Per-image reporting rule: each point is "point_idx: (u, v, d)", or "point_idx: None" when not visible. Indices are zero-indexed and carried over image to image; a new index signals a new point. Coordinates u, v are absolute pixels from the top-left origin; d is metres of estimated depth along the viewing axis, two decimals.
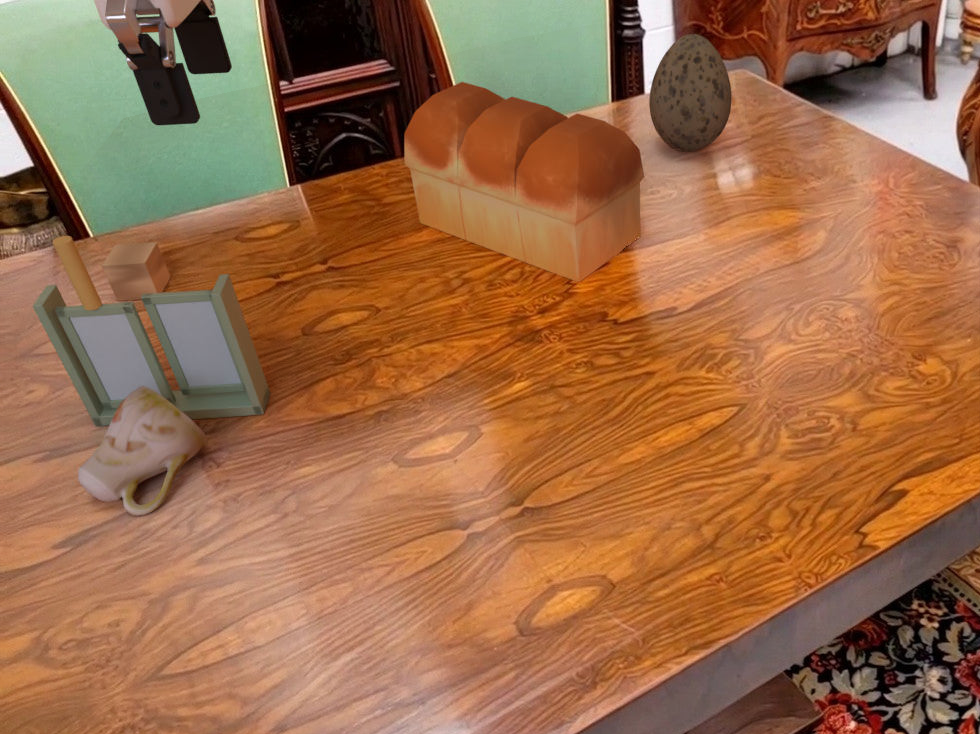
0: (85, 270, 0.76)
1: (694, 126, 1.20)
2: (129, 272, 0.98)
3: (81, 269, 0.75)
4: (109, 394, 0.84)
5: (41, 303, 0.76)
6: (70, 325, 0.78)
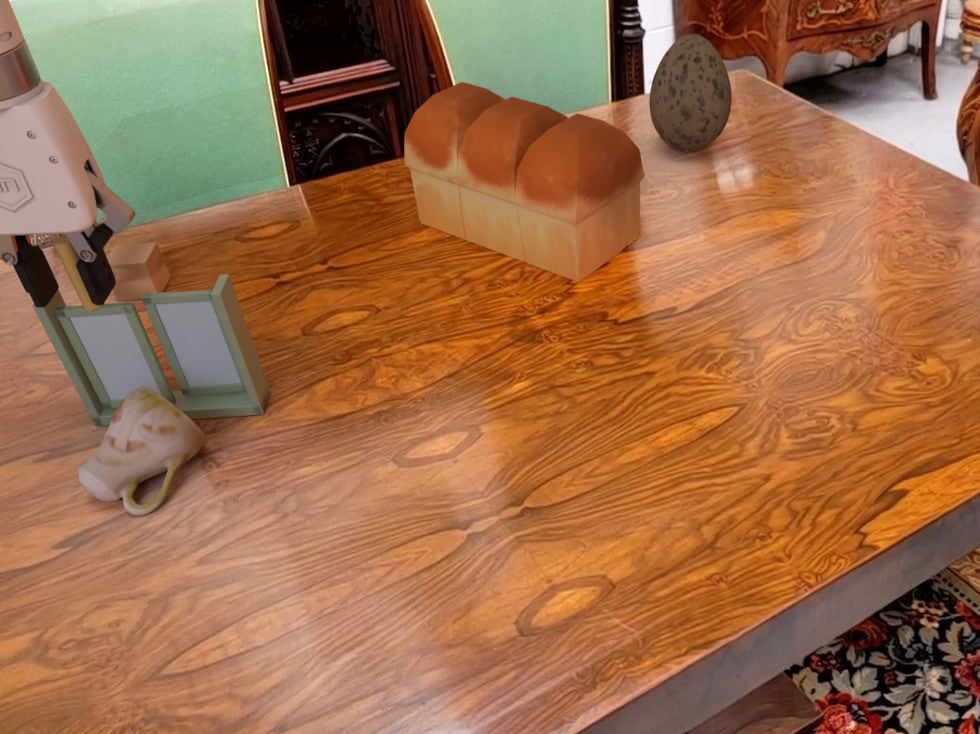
0: None
1: (694, 126, 1.20)
2: (129, 272, 0.98)
3: None
4: (109, 394, 0.84)
5: None
6: (70, 325, 0.78)
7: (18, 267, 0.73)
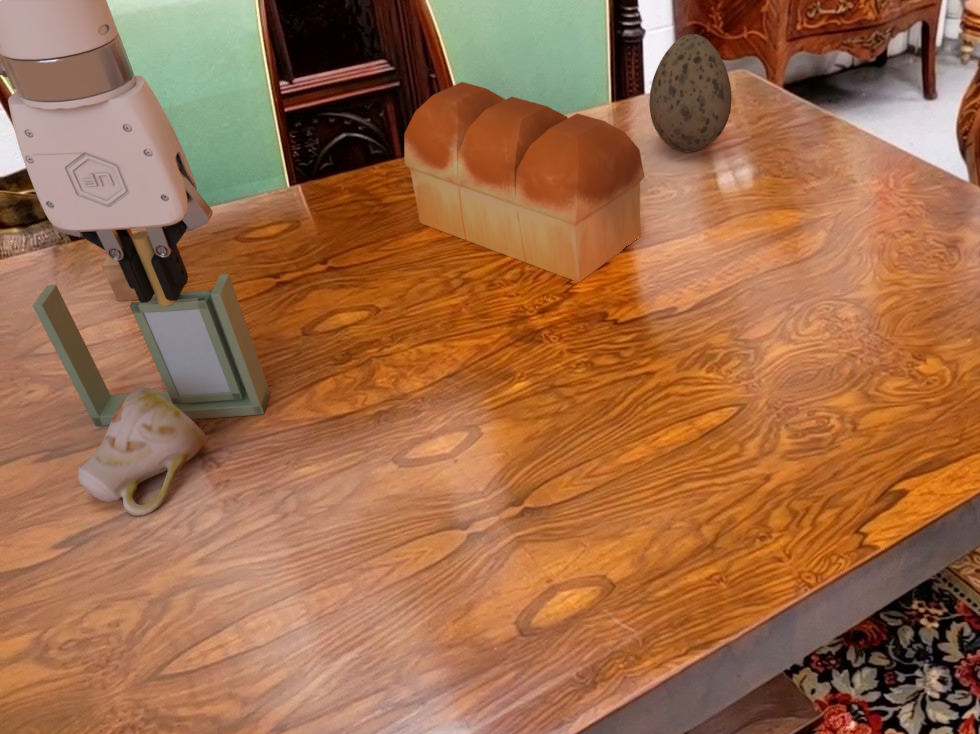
0: None
1: (694, 126, 1.20)
2: None
3: None
4: (178, 389, 0.84)
5: (41, 303, 0.76)
6: (144, 320, 0.79)
7: (124, 262, 0.74)
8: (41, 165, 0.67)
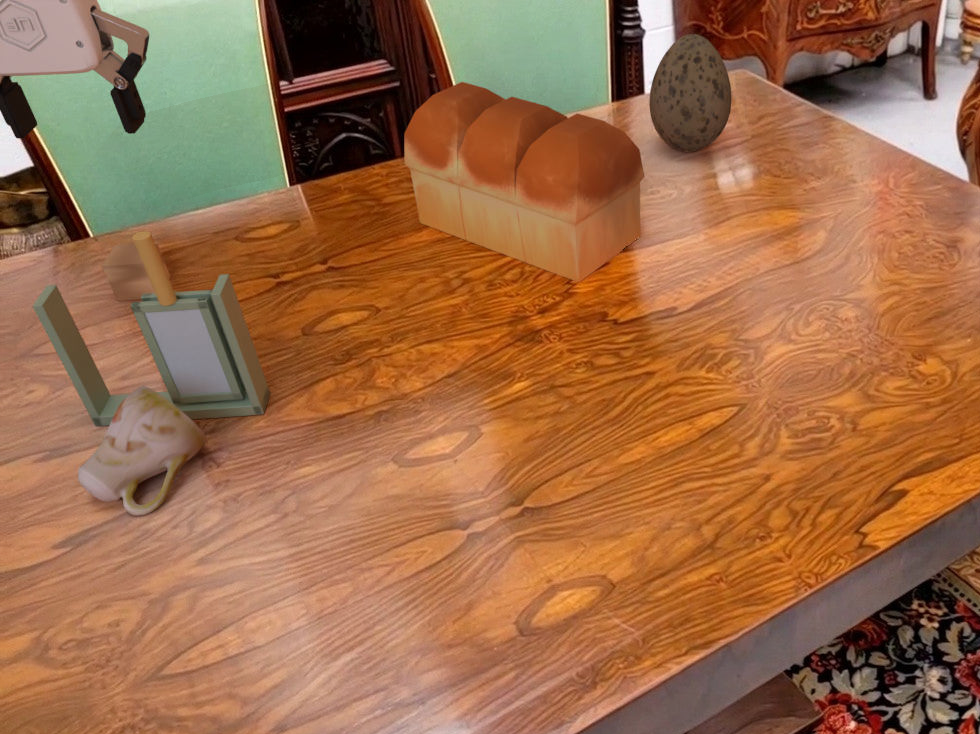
0: (162, 265, 0.76)
1: (694, 126, 1.20)
2: (129, 272, 0.98)
3: (159, 264, 0.76)
4: (179, 389, 0.84)
5: (41, 303, 0.76)
6: (145, 320, 0.79)
7: None
8: None
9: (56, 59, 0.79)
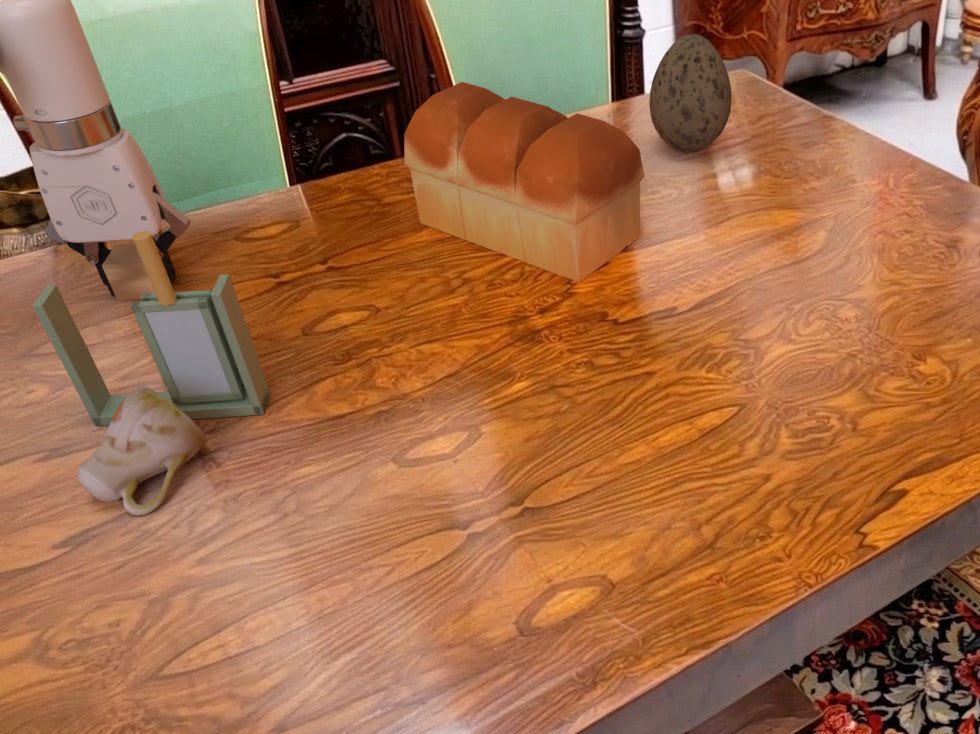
0: (162, 265, 0.76)
1: (694, 126, 1.20)
2: (129, 272, 0.98)
3: (159, 264, 0.76)
4: (179, 389, 0.84)
5: (41, 303, 0.76)
6: (145, 320, 0.79)
7: (99, 265, 0.98)
8: (53, 195, 0.92)
9: (124, 230, 0.95)
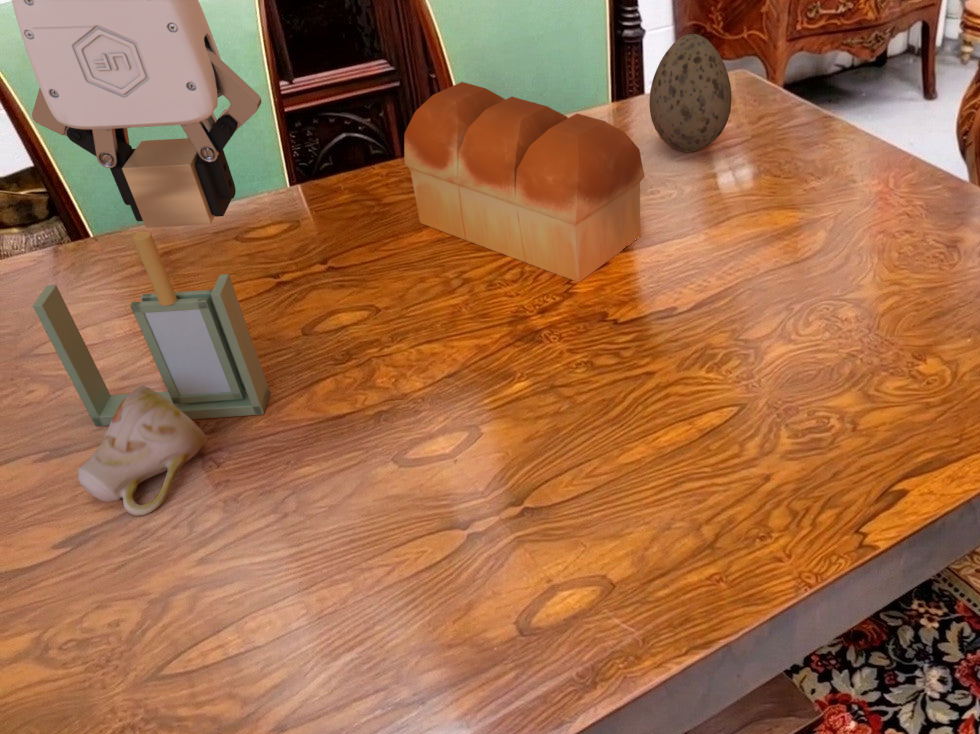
0: (162, 265, 0.76)
1: (694, 126, 1.20)
2: (165, 181, 0.62)
3: (159, 264, 0.76)
4: (179, 389, 0.84)
5: (41, 303, 0.76)
6: (145, 320, 0.79)
7: (118, 170, 0.62)
8: (43, 42, 0.55)
9: (158, 107, 0.58)
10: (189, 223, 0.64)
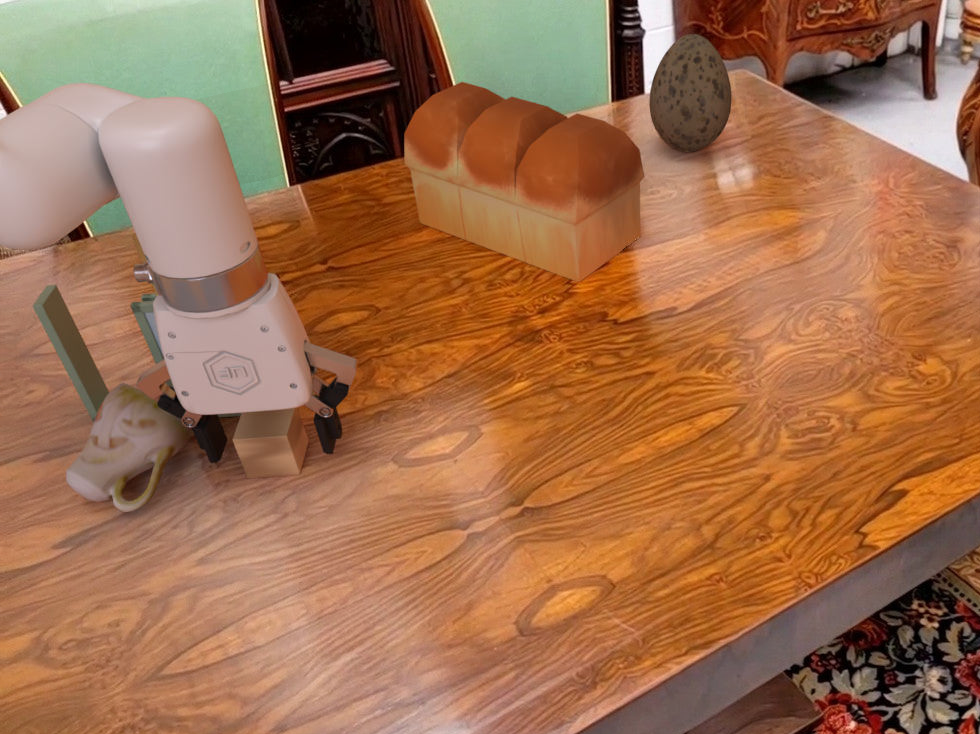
0: None
1: (694, 126, 1.20)
2: (266, 447, 0.77)
3: None
4: None
5: (41, 303, 0.76)
6: (145, 320, 0.79)
7: (197, 429, 0.76)
8: (180, 361, 0.70)
9: (267, 400, 0.73)
10: (282, 474, 0.79)
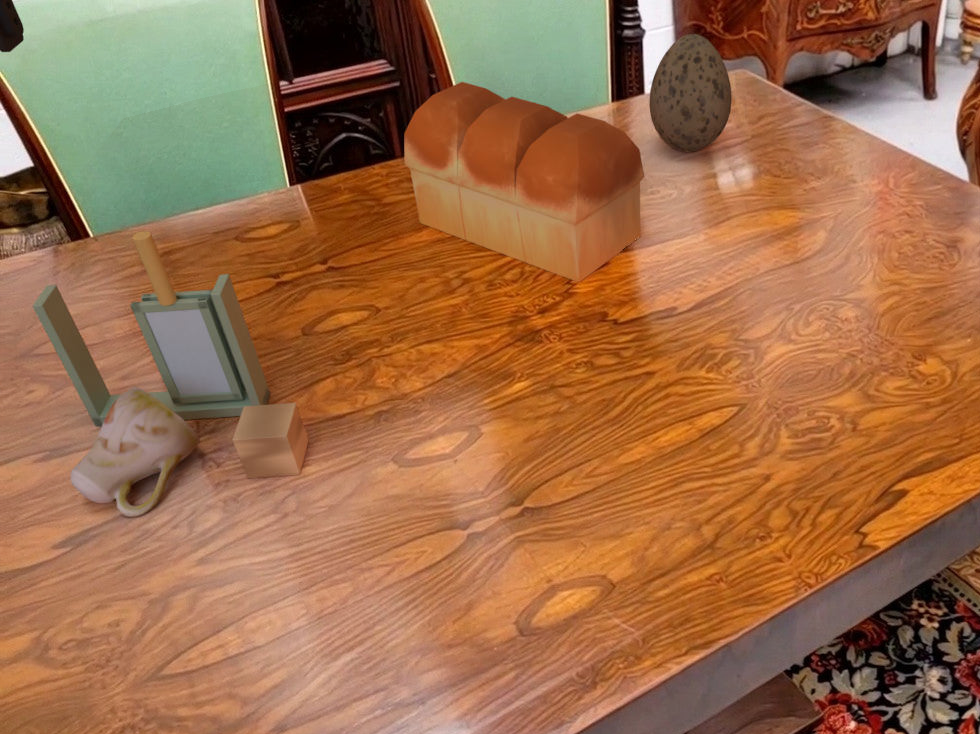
0: (162, 265, 0.76)
1: (694, 126, 1.20)
2: (266, 447, 0.77)
3: (159, 264, 0.76)
4: (179, 389, 0.84)
5: (41, 303, 0.76)
6: (145, 320, 0.79)
7: None
8: None
9: None
10: (282, 474, 0.79)
